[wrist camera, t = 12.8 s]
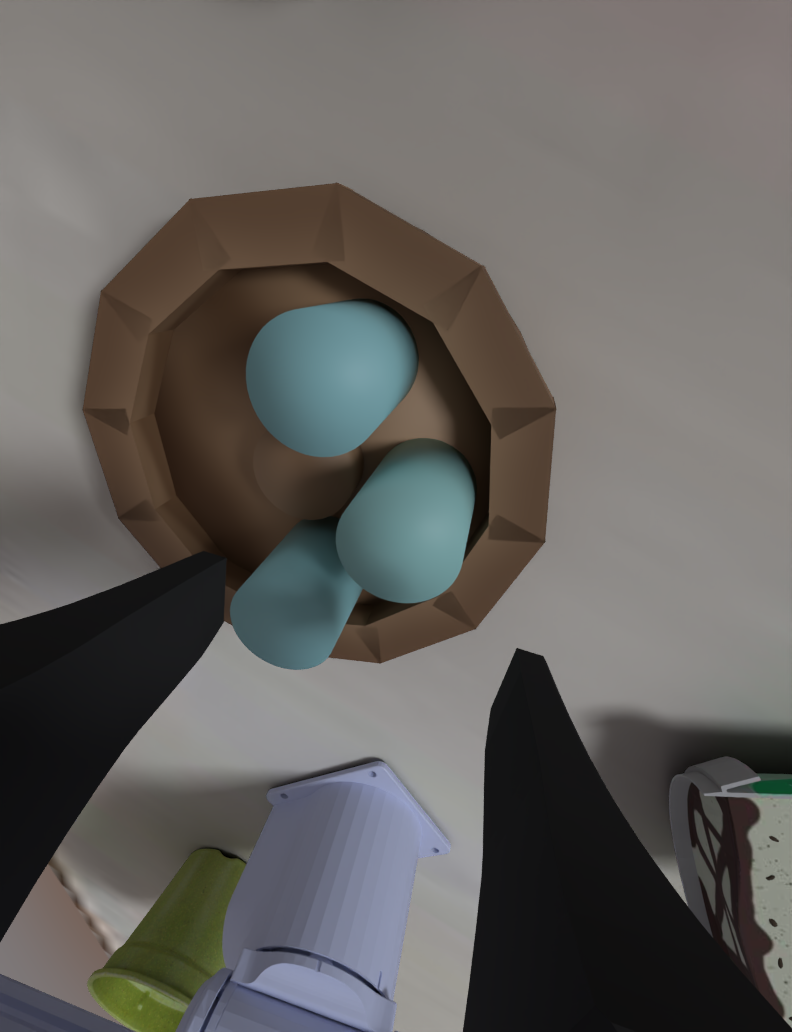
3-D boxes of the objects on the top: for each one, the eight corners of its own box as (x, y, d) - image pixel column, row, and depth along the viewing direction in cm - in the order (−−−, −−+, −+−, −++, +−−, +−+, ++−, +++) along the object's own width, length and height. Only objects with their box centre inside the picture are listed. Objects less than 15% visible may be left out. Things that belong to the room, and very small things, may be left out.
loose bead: (491, 457, 18) (481, 514, 14) (458, 544, 20) (441, 619, 16) (389, 424, 19) (349, 470, 14) (366, 513, 21) (325, 578, 16)
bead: (290, 339, 18) (218, 362, 14) (378, 273, 17) (327, 274, 12) (351, 432, 19) (302, 480, 15) (439, 378, 18) (412, 414, 13)
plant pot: (222, 912, 42) (156, 1054, 34) (148, 841, 39) (59, 978, 32) (305, 902, 38) (251, 1059, 30) (229, 823, 35) (149, 973, 28)
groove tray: (294, 666, 27) (274, 701, 25) (57, 376, 22) (7, 388, 20) (627, 536, 20) (641, 569, 18) (380, 61, 15) (355, 26, 13)
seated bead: (321, 604, 23) (275, 681, 19) (269, 537, 22) (208, 602, 18) (389, 574, 22) (356, 650, 17) (338, 499, 21) (289, 561, 16)
